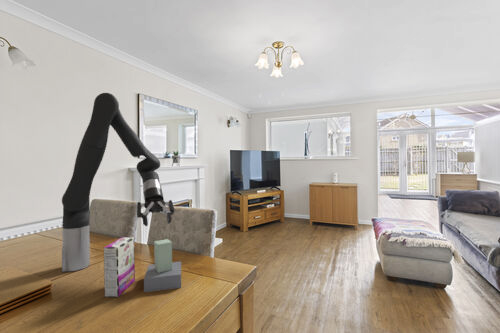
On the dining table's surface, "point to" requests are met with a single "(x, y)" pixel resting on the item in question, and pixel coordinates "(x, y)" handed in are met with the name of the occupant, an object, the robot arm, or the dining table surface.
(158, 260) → the sage block
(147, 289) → the base block
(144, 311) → the dining table surface
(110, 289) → the candy bar box
